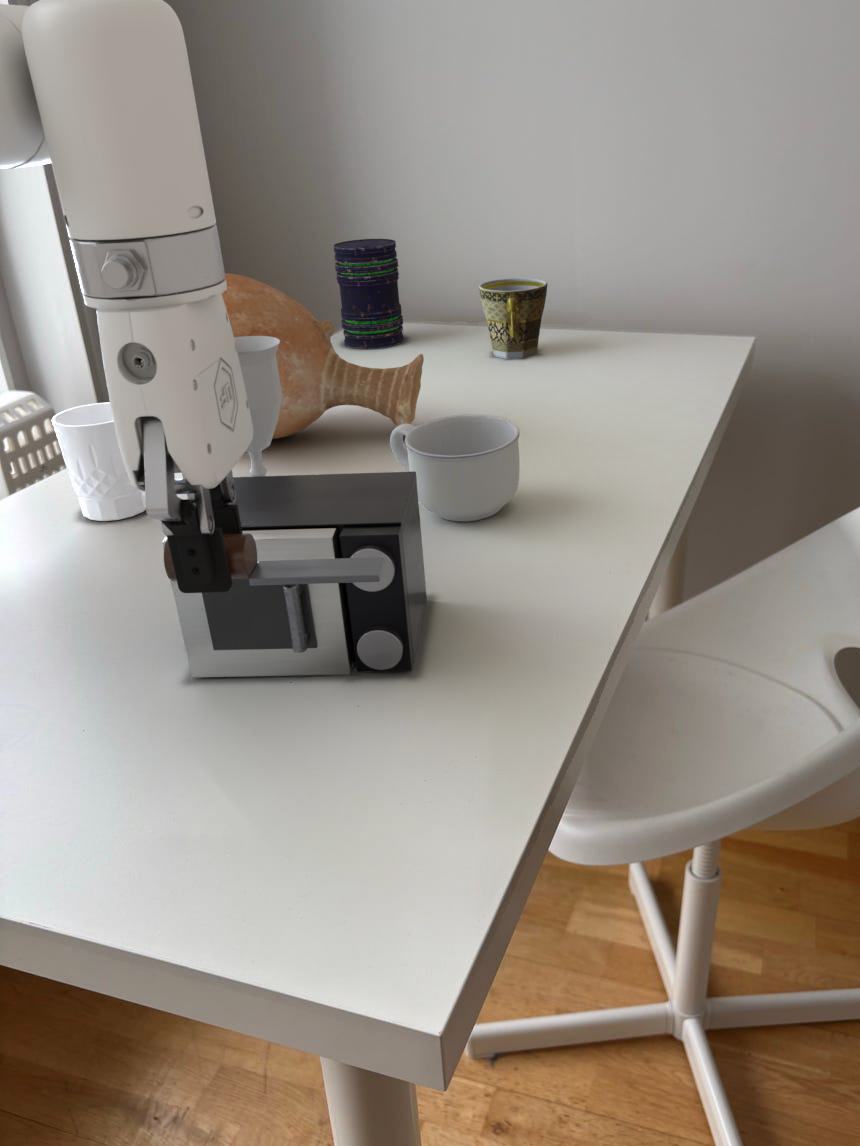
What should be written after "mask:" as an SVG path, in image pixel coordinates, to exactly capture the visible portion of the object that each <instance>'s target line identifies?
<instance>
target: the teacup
mask: <svg viewBox="0 0 860 1146" xmlns="http://www.w3.org/2000/svg"><path fill="white" fill-rule="evenodd" d="M403 434H404V435H406V437H405V438H404V441H403V437H404V435H403ZM519 438H520V429H519V427H518V425H517V424H516V423H515V422H513V421H511V420H510V419H507V418H504V417H502V416H497V415H492V414H482V413H463V414H453V415H446V416H441V417H438V418H437V417H436V418H434V419H430V420H428V421H425V422H423V423H421V424H419V425H416V426H415V425H414V424H412V423H411V424H401V425H399V426H396V427H394V429H393V430H392V431H391V433H390V438H389V445H390V448H391V452H392V454H393V456H394V458H395V459H396V461H397V462H398V463H399V464H400V465H401V466H402V467H403V468H404V469H405V470H407V472H413V471H415V472H416V479H417V481H416V482H417V491H418V503H419V504H420V505H421V506H422V507H423V508H425V509H426V510H428V511H429V512H431V513H433V514H434V515H435V516H437V517H438V518H441V519H443V520H446V521H450V522H475V521H480V520H484V519H486V518H490V517H492V516H494V515H495V514H497V513H498V512H500V511H501V510H502V508H504V506H506V505H507V504H508V503H509V502H510V501H511V500H512V499H513V498H514V496H515V495H516V493H517V491H518V488H519V482H520V445H519Z"/></svg>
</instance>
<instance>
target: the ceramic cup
mask: <svg viewBox="0 0 860 1146" xmlns="http://www.w3.org/2000/svg"><path fill="white" fill-rule="evenodd" d="M478 290H479V295H480V296H479V297H480V300H481V301H480V302H481V304H482V310H483V313H484V316H485V318H486V323H487V329H488V334H489V339H490V342H491V348H492V353H493V356H494V357H496V358H500V359H504V360H521V359H526V358H530V357H533V356H536V354H537V353H538V347H539V339H540V331H541V326H542V325H541V324H542V319H543V314H544V310H545V304H546V300H547V294H548V293H547V292H548V282H547V281H546V280H543V279H540V278H539V279H538V278H531V277H530V278H529V277H513V278H512V277H511V278H501V279H493V280H490V281H486V282H483V283H481V284H479V285H478Z"/></svg>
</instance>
